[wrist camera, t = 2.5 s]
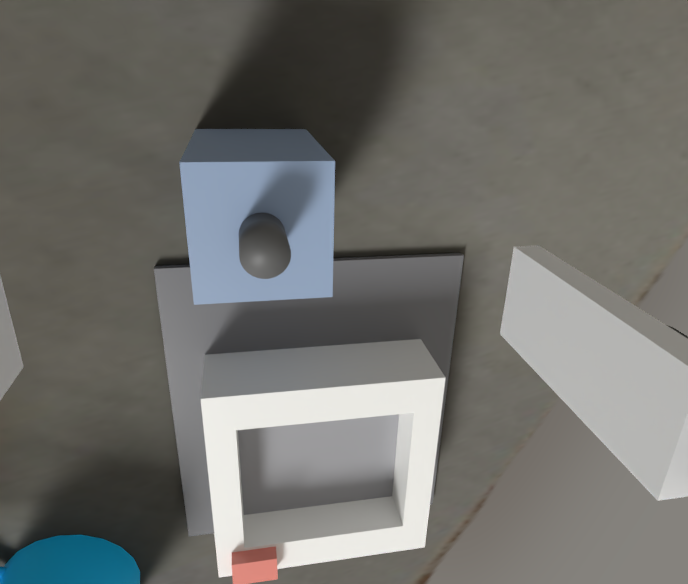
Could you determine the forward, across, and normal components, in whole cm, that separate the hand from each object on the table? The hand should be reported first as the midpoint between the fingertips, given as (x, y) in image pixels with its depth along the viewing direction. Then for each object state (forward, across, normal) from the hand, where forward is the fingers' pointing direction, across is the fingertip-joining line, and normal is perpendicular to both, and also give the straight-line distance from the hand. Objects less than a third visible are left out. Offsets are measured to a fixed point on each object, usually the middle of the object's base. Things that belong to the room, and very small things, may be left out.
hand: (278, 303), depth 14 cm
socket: (+13, +3, -13) cm, 18 cm away
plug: (+13, 0, 0) cm, 13 cm away
